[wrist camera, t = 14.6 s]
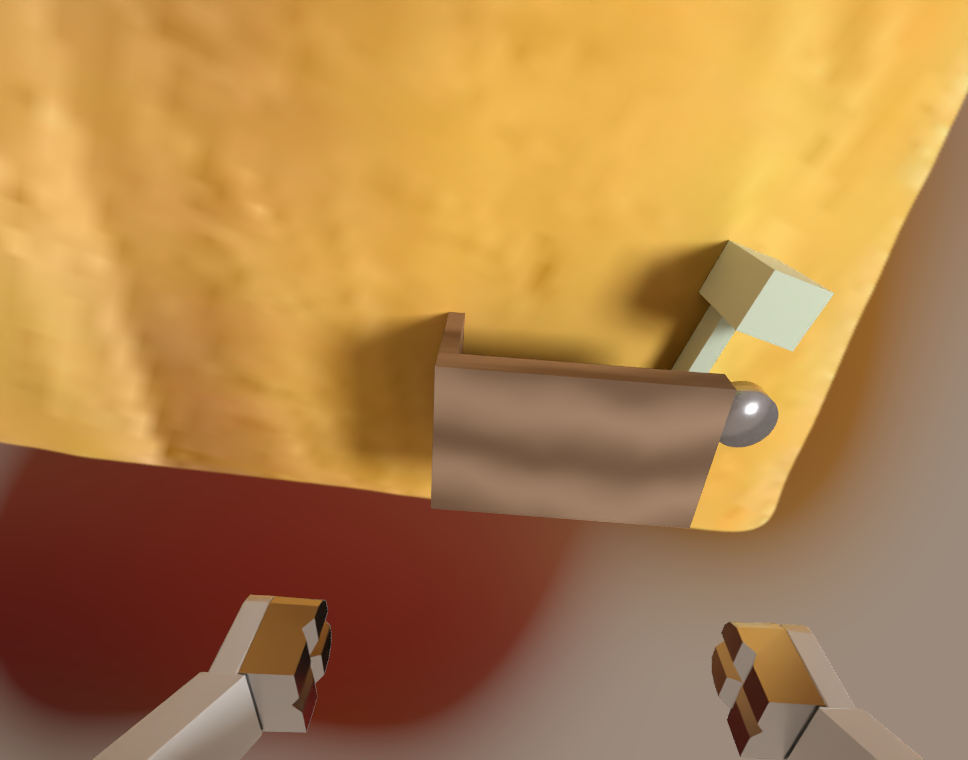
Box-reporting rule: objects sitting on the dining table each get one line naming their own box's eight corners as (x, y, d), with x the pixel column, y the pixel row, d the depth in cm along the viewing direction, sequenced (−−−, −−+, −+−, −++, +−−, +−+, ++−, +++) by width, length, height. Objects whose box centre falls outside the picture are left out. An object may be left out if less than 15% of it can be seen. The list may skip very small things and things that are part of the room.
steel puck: (731, 370, 41) (742, 382, 40) (779, 397, 42) (792, 410, 41) (690, 417, 43) (698, 431, 42) (736, 442, 44) (746, 456, 43)
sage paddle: (729, 240, 36) (775, 269, 30) (779, 260, 37) (834, 293, 31) (622, 422, 44) (641, 475, 38) (665, 436, 44) (691, 492, 38)
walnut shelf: (448, 312, 40) (434, 366, 32) (690, 330, 40) (736, 389, 32) (444, 435, 45) (430, 508, 37) (657, 451, 45) (689, 528, 37)
